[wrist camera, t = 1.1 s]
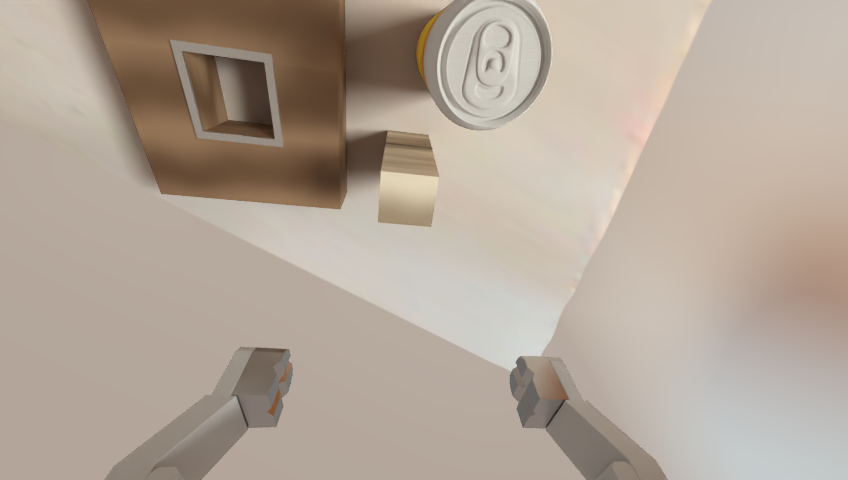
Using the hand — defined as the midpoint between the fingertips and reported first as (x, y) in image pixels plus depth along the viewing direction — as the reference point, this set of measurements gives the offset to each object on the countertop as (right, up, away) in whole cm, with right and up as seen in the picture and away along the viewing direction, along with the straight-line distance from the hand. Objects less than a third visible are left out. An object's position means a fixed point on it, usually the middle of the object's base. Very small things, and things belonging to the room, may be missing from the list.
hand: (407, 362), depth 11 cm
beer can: (+3, +21, +15) cm, 26 cm away
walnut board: (-15, +18, +16) cm, 28 cm away
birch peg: (-1, +13, +20) cm, 24 cm away
